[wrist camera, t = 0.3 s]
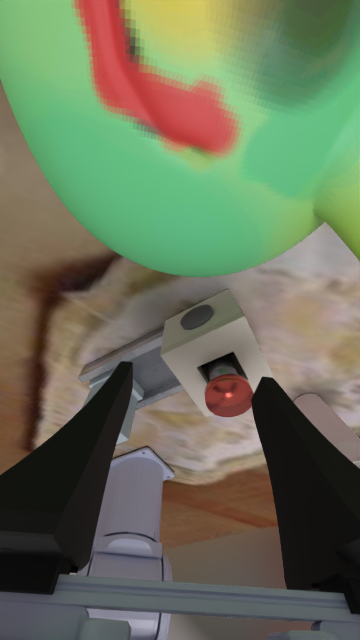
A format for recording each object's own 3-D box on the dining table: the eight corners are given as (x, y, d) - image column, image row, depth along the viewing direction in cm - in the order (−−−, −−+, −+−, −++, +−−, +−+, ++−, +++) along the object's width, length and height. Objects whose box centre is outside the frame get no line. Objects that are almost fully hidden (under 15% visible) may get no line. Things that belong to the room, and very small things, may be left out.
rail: (121, 404, 28) (117, 417, 26) (84, 365, 25) (77, 378, 23) (198, 370, 25) (199, 383, 23) (167, 324, 22) (166, 334, 21)
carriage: (116, 403, 26) (99, 452, 21) (92, 378, 24) (67, 425, 19) (144, 390, 25) (134, 439, 20) (121, 364, 24) (104, 409, 18)
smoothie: (271, 402, 28) (346, 562, 15) (318, 376, 26) (450, 535, 13) (295, 428, 30) (379, 586, 17) (341, 405, 28) (473, 565, 15)
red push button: (209, 378, 21) (217, 422, 16) (193, 352, 19) (197, 393, 15) (243, 364, 20) (261, 406, 16) (228, 336, 18) (243, 374, 14)
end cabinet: (200, 373, 25) (205, 417, 20) (163, 317, 22) (157, 351, 17) (257, 349, 24) (279, 389, 19) (226, 284, 21) (242, 311, 15)
